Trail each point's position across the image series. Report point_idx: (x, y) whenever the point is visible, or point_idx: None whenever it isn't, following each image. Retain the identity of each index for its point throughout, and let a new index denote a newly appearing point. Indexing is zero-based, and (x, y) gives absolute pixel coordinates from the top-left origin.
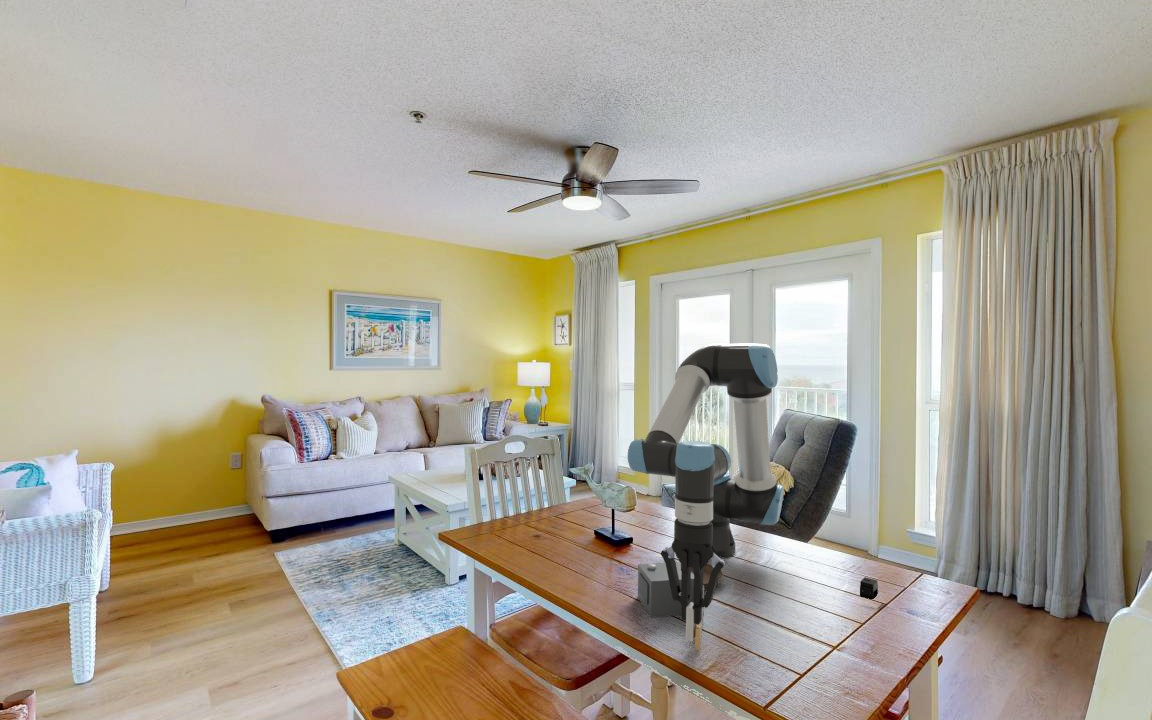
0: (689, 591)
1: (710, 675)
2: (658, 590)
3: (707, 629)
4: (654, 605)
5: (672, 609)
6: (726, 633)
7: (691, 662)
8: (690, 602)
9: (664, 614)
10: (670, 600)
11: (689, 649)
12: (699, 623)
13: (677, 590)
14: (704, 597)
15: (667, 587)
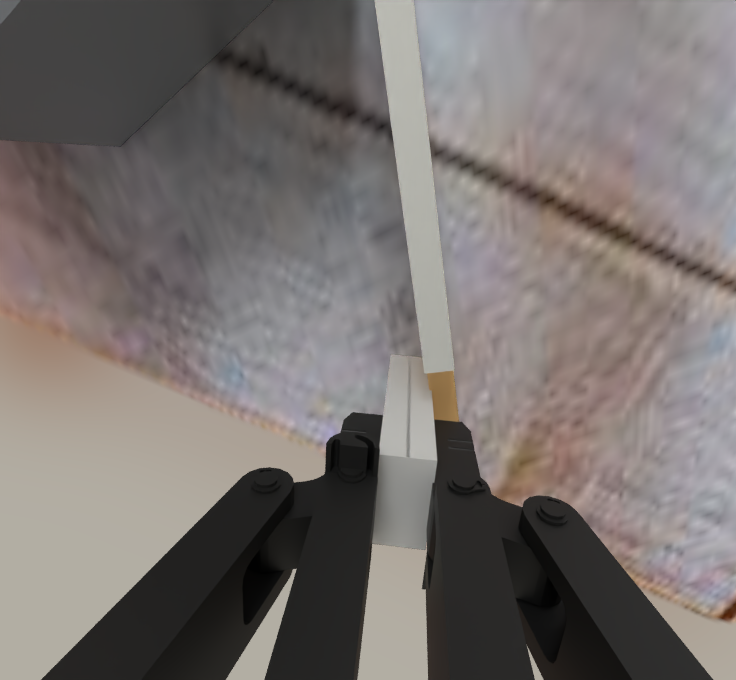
0: (368, 560)
1: None
2: (29, 97)
3: (457, 134)
4: (90, 127)
5: (201, 45)
6: (575, 128)
7: None
8: (381, 462)
9: (174, 88)
10: (157, 41)
11: None
12: (450, 397)
13: (262, 603)
14: (535, 658)
15: (68, 32)
